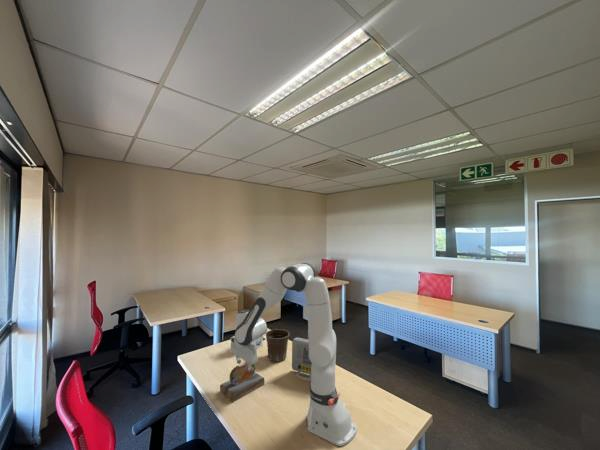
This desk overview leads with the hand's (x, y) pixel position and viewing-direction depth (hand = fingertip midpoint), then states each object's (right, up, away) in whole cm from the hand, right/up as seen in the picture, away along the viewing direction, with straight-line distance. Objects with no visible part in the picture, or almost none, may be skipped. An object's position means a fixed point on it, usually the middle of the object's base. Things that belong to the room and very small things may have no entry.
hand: (243, 366), depth 134 cm
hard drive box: (-5, -13, +47) cm, 49 cm away
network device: (+38, -13, +11) cm, 41 cm away
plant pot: (+15, -13, +33) cm, 38 cm away
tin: (-1, -8, 0) cm, 8 cm away
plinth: (-1, -12, 0) cm, 12 cm away
